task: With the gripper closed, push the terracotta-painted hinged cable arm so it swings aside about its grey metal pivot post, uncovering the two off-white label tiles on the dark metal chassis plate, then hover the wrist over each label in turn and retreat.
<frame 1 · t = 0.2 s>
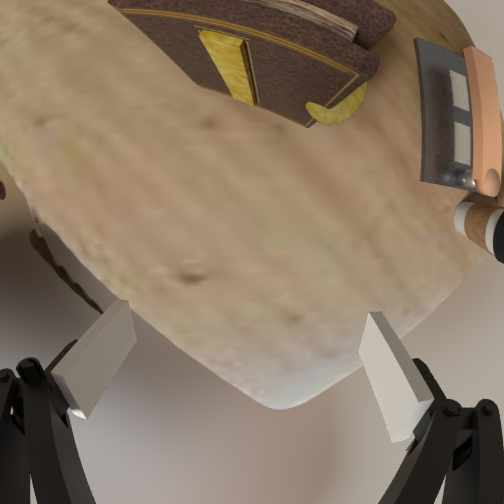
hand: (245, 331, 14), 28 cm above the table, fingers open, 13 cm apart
coffee cup: (463, 217, 38), on the table
book: (264, 88, 34), on the table
cable arm: (487, 119, 24), point 8 cm above the table, hinge at 0.0°
chassis: (451, 114, 32), on the table
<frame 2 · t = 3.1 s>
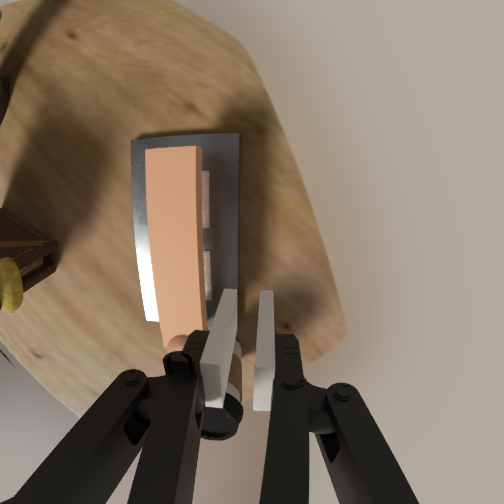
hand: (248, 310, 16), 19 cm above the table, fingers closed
coffee cup: (223, 348, 41), on the table
book: (29, 239, 37), on the table
cable arm: (177, 267, 27), point 8 cm above the table, hinge at 0.0°
chassis: (185, 236, 35), on the table
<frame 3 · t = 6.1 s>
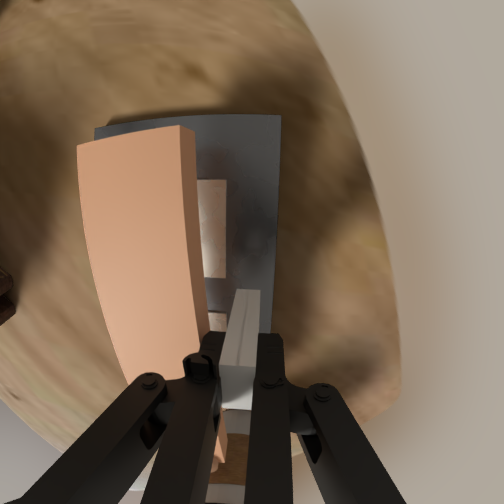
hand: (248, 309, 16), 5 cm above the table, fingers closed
coffee cup: (240, 422, 27), on the table
cable arm: (166, 364, 14), point 8 cm above the table, hinge at 3.2°, touching gripper
chassis: (185, 285, 22), on the table
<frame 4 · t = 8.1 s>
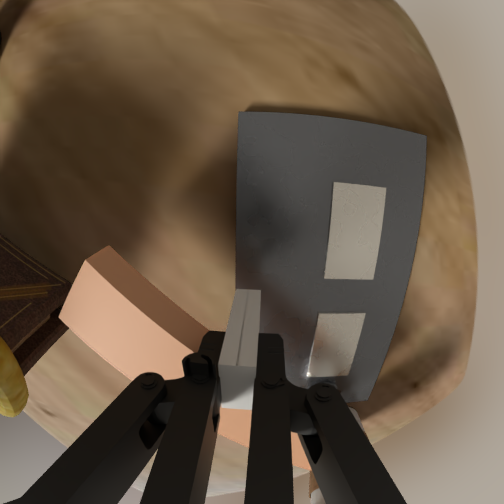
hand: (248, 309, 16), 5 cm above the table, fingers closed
coffee cup: (333, 419, 27), on the table
book: (23, 273, 23), on the table
cable arm: (240, 406, 15), point 8 cm above the table, hinge at 49.1°
chassis: (324, 288, 21), on the table
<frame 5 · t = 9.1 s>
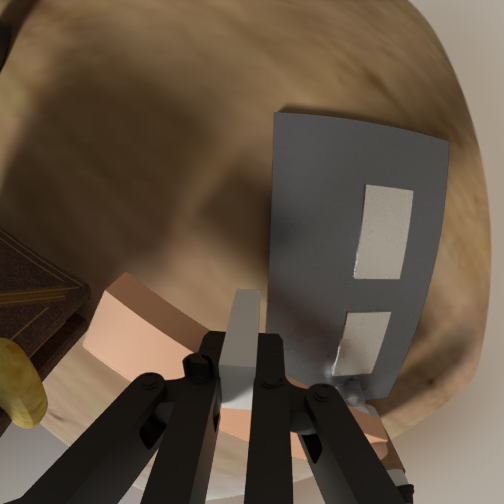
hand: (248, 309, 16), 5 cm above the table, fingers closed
coffee cup: (353, 417, 27), on the table
book: (35, 276, 23), on the table
cable arm: (268, 413, 15), point 8 cm above the table, hinge at 54.6°, touching gripper
chassis: (352, 288, 21), on the table
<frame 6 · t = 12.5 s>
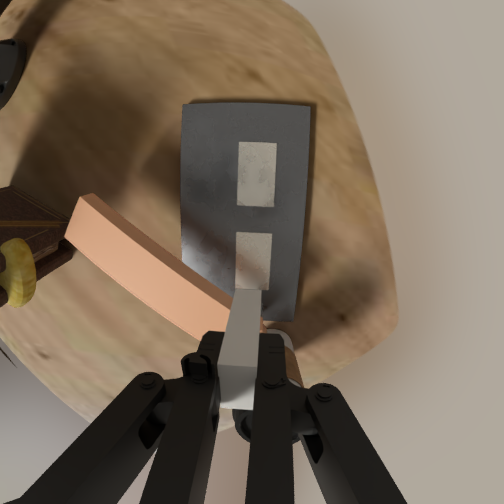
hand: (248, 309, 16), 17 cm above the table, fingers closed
coffee cup: (271, 344, 37), on the table
book: (40, 221, 33), on the table
cable arm: (164, 285, 25), point 8 cm above the table, hinge at 55.0°
chassis: (242, 216, 31), on the table
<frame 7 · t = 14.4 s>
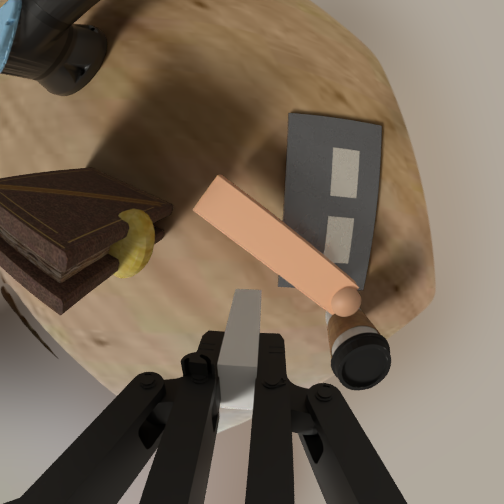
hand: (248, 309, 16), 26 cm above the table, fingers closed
coffee cup: (341, 312, 44), on the table
book: (126, 203, 41), on the table
cable arm: (286, 252, 33), point 8 cm above the table, hinge at 55.0°
chassis: (330, 204, 39), on the table
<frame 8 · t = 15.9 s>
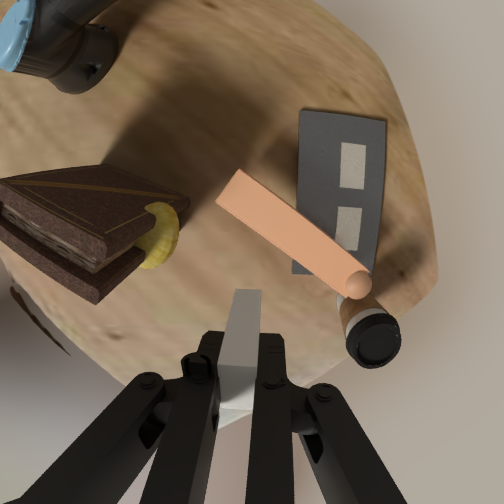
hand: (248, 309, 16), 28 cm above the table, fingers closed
coffee cup: (351, 297, 47), on the table
book: (142, 197, 43), on the table
cable arm: (303, 240, 35), point 8 cm above the table, hinge at 55.0°
chassis: (339, 195, 41), on the table
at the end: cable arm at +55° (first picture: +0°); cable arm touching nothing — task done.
